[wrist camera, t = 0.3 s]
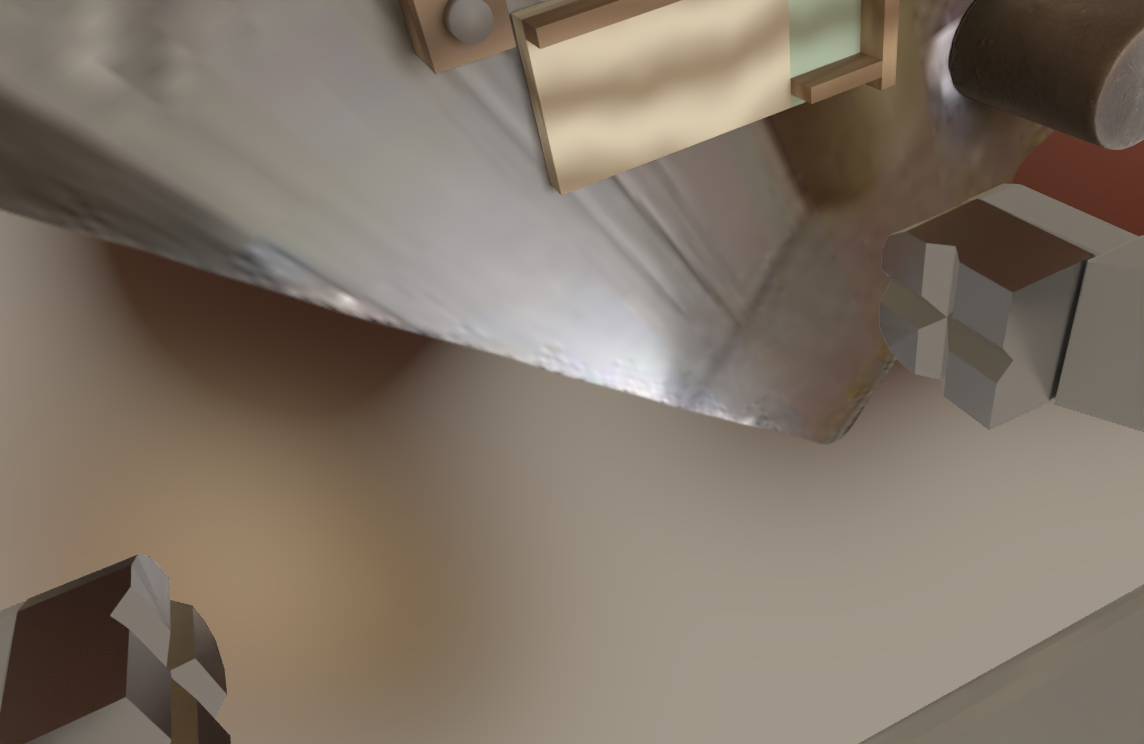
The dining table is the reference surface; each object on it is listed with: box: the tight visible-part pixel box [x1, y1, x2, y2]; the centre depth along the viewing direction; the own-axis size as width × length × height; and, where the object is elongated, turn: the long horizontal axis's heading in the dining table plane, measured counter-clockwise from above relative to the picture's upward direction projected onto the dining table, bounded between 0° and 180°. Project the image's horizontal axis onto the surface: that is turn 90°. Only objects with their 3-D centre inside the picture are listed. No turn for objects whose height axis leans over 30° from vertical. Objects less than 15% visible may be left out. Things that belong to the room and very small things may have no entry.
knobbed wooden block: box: [399, 0, 516, 74], centre depth 47 cm, size 5×5×6 cm
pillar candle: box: [949, 0, 1144, 150], centre depth 62 cm, size 10×10×15 cm
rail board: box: [511, 0, 900, 195], centre depth 56 cm, size 12×26×4 cm, turn 103°
